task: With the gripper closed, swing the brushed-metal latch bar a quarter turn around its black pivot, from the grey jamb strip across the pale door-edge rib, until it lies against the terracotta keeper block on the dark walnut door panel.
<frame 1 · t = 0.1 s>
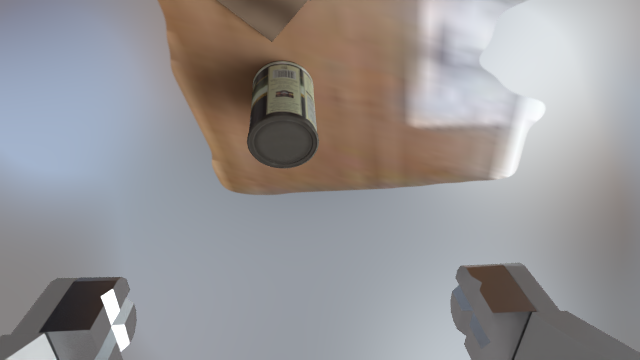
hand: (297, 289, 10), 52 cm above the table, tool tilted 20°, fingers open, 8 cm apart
coffee can: (283, 87, 67), on the table
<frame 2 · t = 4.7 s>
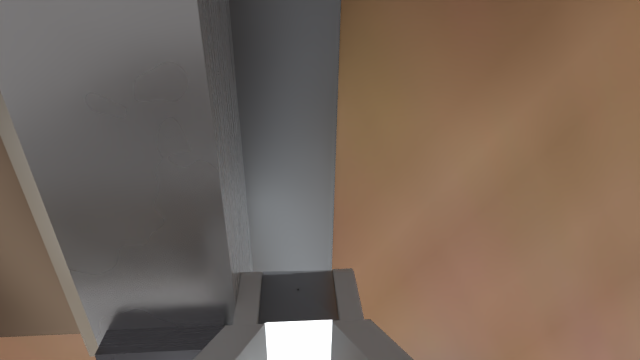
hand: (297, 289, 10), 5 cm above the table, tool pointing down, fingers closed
latch bar: (124, 26, 7), point 5 cm above the table, hinge at 0.0°, touching gripper
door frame: (23, 21, 11), on the table
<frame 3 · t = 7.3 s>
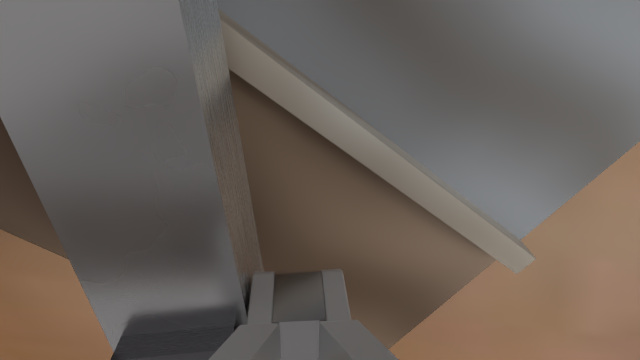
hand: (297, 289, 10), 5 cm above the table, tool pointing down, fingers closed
latch bar: (113, 35, 7), point 5 cm above the table, hinge at 48.1°, touching gripper
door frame: (256, 64, 12), on the table
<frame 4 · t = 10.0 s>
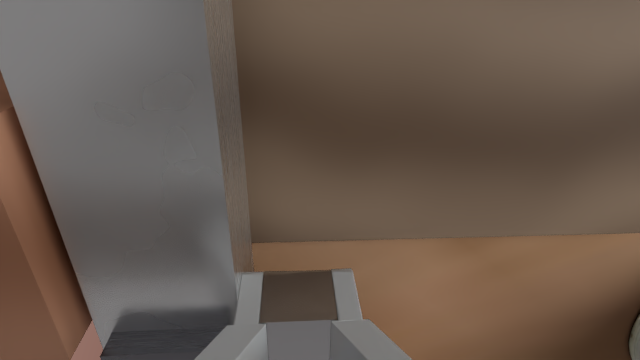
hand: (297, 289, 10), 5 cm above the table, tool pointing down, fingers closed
latch bar: (131, 36, 7), point 5 cm above the table, hinge at 89.7°, touching gripper
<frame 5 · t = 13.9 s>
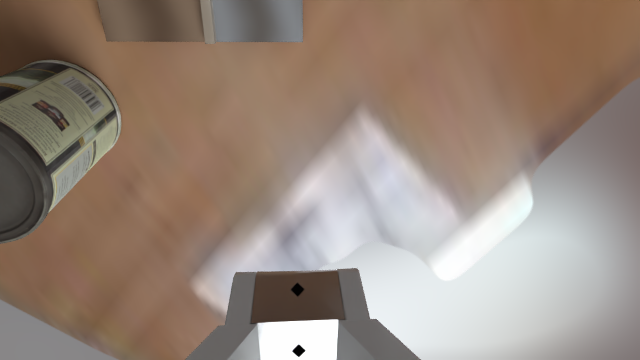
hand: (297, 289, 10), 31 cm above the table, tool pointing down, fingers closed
coffee can: (68, 112, 39), on the table
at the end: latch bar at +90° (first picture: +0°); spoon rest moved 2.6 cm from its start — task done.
